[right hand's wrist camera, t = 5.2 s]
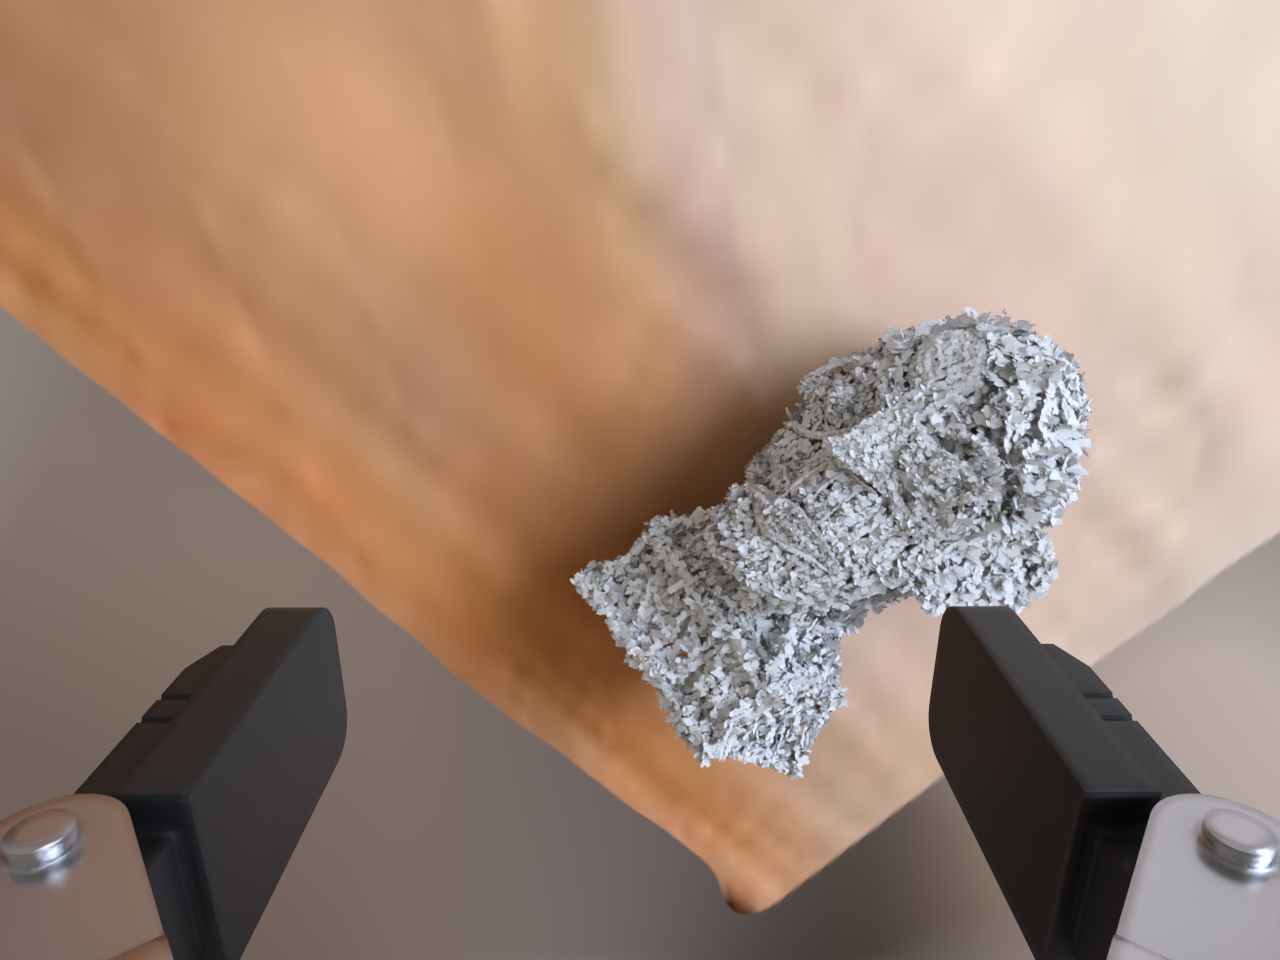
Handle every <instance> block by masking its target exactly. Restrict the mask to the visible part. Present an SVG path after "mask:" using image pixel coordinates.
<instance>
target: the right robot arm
mask: <svg viewBox="0 0 1280 960" xmlns="http://www.w3.org/2000/svg"><path fill="white" fill-rule="evenodd" d="M346 728H347V709H346V701H345V694H344V687H343V680H342V673H341V666H340V659H339V652H338V645H337V638H336V631H335V625H334V620H333V617H332V615H331V613H330V611H329V610H328V609H327V608H266V609H264V610H263V611H262V612H261V613H260V614H259V615H258V617H257V618H256V619H255V620H254V621H253V623H252V624H251V625H250V626H249V627H248V629H247V630H246V631H245V632H244V634H243V635H242V636H241V637H240V638H239V639H238V641H237V642H236V643H235V644H234V646H220V647H218V648H217V649H215V650H214V651H212V652H210V653H209V654H207V655H206V656H204V657H202V658H201V659H199V660H198V661H196V662H195V663H193V664H191V665H190V666H188V667H186V668H185V669H184V670H183V671H182V672H181V674H180V675H179V676H178V677H177V678H176V679H175V680H174V681H173V683H172V684H171V685H170V686H169V687H168V688H167V689H166V690H165V692H164V693H163V694H162V698H161V700H157V701H156V702H155V703H154V704H153V705H152V706H151V707H150V709H149V710H148V711H147V712H146V713H145V714H144V715H143V716H142V722H141V723H136V724H135V726H134V727H133V728H132V729H131V730H130V731H129V732H128V733H127V735H126V736H125V737H124V738H123V739H122V740H121V741H120V742H119V744H118V745H117V746H116V747H115V748H114V749H113V750H112V751H111V753H110V754H109V755H108V756H107V757H106V758H105V759H104V760H103V762H102V763H101V764H100V765H99V766H98V767H97V768H96V769H95V771H94V772H93V773H92V774H91V775H90V776H89V777H88V779H87V780H86V781H85V782H84V783H83V784H82V785H81V786H80V788H79V789H78V790H77V791H76V792H75V793H74V794H73V795H68V796H63V797H58V798H54V799H50V800H47V801H44V802H41V803H38V804H35V805H32V806H30V807H28V808H25V809H23V810H21V811H19V812H16V813H14V814H12V815H10V816H8V817H7V818H5V819H3V820H2V821H0V960H240V958H241V956H242V954H243V952H244V950H245V948H246V946H247V944H248V942H249V940H250V938H251V936H252V934H253V932H254V930H255V928H256V926H257V924H258V922H259V920H260V918H261V916H262V914H263V912H264V910H265V908H266V906H267V904H268V902H269V900H270V898H271V896H272V894H273V892H274V890H275V888H276V886H277V884H278V882H279V880H280V878H281V876H282V874H283V871H284V870H285V867H286V865H287V863H288V861H289V859H290V857H291V855H292V853H293V851H294V849H295V847H296V845H297V843H298V841H299V839H300V837H301V835H302V833H303V831H304V829H305V827H306V825H307V823H308V821H309V819H310V817H311V815H312V813H313V811H314V809H315V807H316V805H317V803H318V801H319V799H320V797H321V795H322V793H323V791H324V789H325V787H326V785H327V783H328V781H329V779H330V777H331V775H332V773H333V771H334V769H335V767H336V765H337V763H338V761H339V759H340V756H341V753H342V750H343V747H344V742H345V737H346ZM929 731H930V738H931V743H932V747H933V750H934V753H935V756H936V758H937V760H938V762H939V764H940V766H941V768H942V770H943V772H944V775H945V777H946V779H947V781H948V783H949V785H950V787H951V789H952V791H953V793H954V795H955V797H956V799H957V801H958V803H959V805H960V807H961V809H962V811H963V813H964V815H965V817H966V819H967V821H968V823H969V825H970V827H971V829H972V831H973V833H974V836H975V838H976V840H977V842H978V844H979V846H980V848H981V850H982V852H983V854H984V856H985V858H986V860H987V862H988V864H989V866H990V868H991V870H992V872H993V874H994V876H995V878H996V880H997V882H998V884H999V886H1000V889H1001V891H1002V893H1003V895H1004V897H1005V899H1006V901H1007V903H1008V905H1009V907H1010V909H1011V911H1012V913H1013V915H1014V917H1015V919H1016V921H1017V923H1018V925H1019V927H1020V929H1021V931H1022V933H1023V935H1024V937H1025V939H1026V941H1027V943H1028V945H1029V947H1030V950H1031V952H1032V954H1033V956H1034V958H1035V960H1280V821H1278V820H1277V819H1275V818H1273V817H1272V816H1270V815H1268V814H1266V813H1264V812H1261V811H1259V810H1257V809H1255V808H1252V807H1250V806H1247V805H1245V804H1242V803H1239V802H1236V801H1233V800H1230V799H1226V798H1222V797H1217V796H1212V795H1205V794H1201V793H1200V792H1199V791H1198V790H1197V789H1196V788H1195V786H1194V785H1193V784H1192V783H1191V782H1190V781H1189V780H1188V778H1187V777H1186V776H1185V775H1184V774H1183V773H1182V772H1181V771H1180V769H1179V768H1178V767H1177V766H1176V765H1175V764H1174V763H1173V761H1172V760H1171V759H1170V758H1169V757H1168V756H1167V755H1166V753H1165V752H1164V751H1163V750H1162V749H1161V748H1160V747H1159V745H1158V744H1157V743H1156V742H1155V741H1154V740H1153V739H1152V737H1151V736H1150V735H1149V734H1148V733H1147V732H1146V731H1145V729H1144V728H1143V727H1142V726H1141V725H1140V724H1139V723H1138V722H1137V721H1133V720H1132V715H1131V714H1130V712H1129V711H1128V710H1127V709H1126V708H1125V707H1124V706H1123V704H1122V703H1121V702H1120V701H1119V700H1118V699H1117V698H1113V696H1112V692H1111V691H1110V690H1109V689H1108V687H1107V686H1106V685H1105V684H1104V683H1103V682H1102V681H1101V679H1100V678H1099V677H1098V676H1097V675H1096V674H1095V673H1094V671H1093V670H1092V669H1091V668H1090V667H1089V666H1088V665H1086V664H1084V663H1083V662H1081V661H1080V660H1078V659H1076V658H1075V657H1073V656H1072V655H1070V654H1068V653H1067V652H1065V651H1064V650H1062V649H1060V648H1059V647H1057V646H1056V645H1054V644H1041V643H1040V642H1039V641H1038V640H1037V638H1036V637H1035V636H1034V635H1033V634H1032V632H1031V631H1030V630H1029V629H1028V627H1027V626H1026V625H1025V624H1024V623H1023V621H1022V620H1021V619H1020V618H1019V617H1018V615H1017V614H1016V613H1015V612H1014V611H1013V610H1012V609H1011V608H1010V607H1007V606H950V607H948V608H947V609H946V610H945V612H944V614H943V617H942V620H941V625H940V632H939V640H938V647H937V654H936V661H935V668H934V675H933V682H932V689H931V697H930V704H929Z"/></svg>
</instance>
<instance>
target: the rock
mask: <svg viewBox="0 0 1280 960" xmlns="http://www.w3.org/2000/svg"><path fill="white" fill-rule="evenodd" d="M965 307H966V306H965ZM965 311H966V313H965V314H961V315H960V316H958V317H955V318H956V320H954V319H950V318H951V317H950V316H949V315H947V316H946V317H945V318H946V319H947V321H945V322H944V320H943V319H942V320H940V318H939V320H938V321H939V323H938V322H937V320H933V319H932V320H929V321H928V320H926V321H923V322H922V323H921V325H919V324H918V325H916V326H915V327H914V326H912V327H910V328H909V329H907V328H906V330H905V329H904V328H902V329H901V327H900V329H899V328H898V329H899V330H895V329H894V328H892V327H891V326H890V328H889V327H888V328H887V329H886V331H884V334H883V335H884V336H883V337H882V338H879V339H878V340H880V342H878V343H879V344H878V345H879V346H878V345H877V346H875V347H876V348H874V347H873V348H872V347H871V348H868V351H867V350H866V351H867V352H868V353H869V355H868V354H866V353H867V352H866V353H865V352H862V350H859V353H858V352H856V353H855V352H854V353H853V352H852V353H851V355H847V356H845V357H841V358H838V359H837V357H831V358H830V360H829V361H828V363H829V364H827V365H823V366H822V367H820V368H819V367H818V368H819V369H818V370H817V369H816V371H815V372H812V371H811V372H810V374H807V375H804V381H805V382H804V381H803V380H802V381H800V382H799V383H802V384H801V386H800V385H798V386H797V387H795V388H798V389H796V390H797V391H798V392H799V394H798V395H800V394H803V393H804V398H803V401H802V402H801V403H800V404H798V403H796V404H795V405H797V407H796V409H795V411H794V413H793V415H792V414H791V412H790V411H789V410H788V407H786V408H785V409H786V414H787V415H788V419H790V420H789V421H787V420H786V422H784V423H783V424H784V425H785V427H783V428H782V429H780V430H778V431H777V433H778V434H777V433H776V434H774V435H773V437H772V440H771V442H770V443H769V444H770V445H768V444H767V445H768V446H767V445H765V447H764V448H763V449H762V451H763V452H762V451H761V452H762V453H761V452H759V454H758V452H757V451H756V452H757V453H756V454H755V456H758V457H753V460H751V462H750V463H747V464H746V465H744V467H746V469H745V468H744V469H745V470H746V471H744V472H746V473H743V474H746V475H745V478H747V482H746V481H745V482H746V483H745V484H743V485H741V487H739V485H738V483H735V484H734V485H732V488H731V487H729V490H730V492H729V493H730V494H729V497H728V498H727V497H726V499H723V500H726V501H728V502H726V503H725V504H726V505H725V504H724V505H723V502H722V504H721V506H720V505H719V504H717V505H718V507H717V506H715V507H713V506H711V507H712V510H711V509H710V508H708V509H707V510H706V511H705V510H703V509H702V508H701V507H702V506H701V507H700V506H699V507H697V508H696V510H694V511H693V513H692V515H691V516H690V517H688V515H689V514H688V515H687V514H683V515H681V517H679V516H678V515H677V516H678V517H677V516H676V515H675V513H673V509H672V510H670V514H671V515H670V517H667V516H666V515H665V516H664V517H662V518H661V516H659V515H657V516H654V517H655V518H653V519H652V518H651V519H652V520H651V521H650V524H649V523H647V522H643V523H644V524H643V525H649V526H648V527H647V529H643V531H642V533H643V534H641V535H642V537H641V538H640V537H638V538H637V542H636V541H635V542H634V545H635V546H634V545H633V546H632V548H631V549H630V552H629V553H627V554H626V555H625V556H621V555H618V556H617V558H615V559H614V561H612V562H613V563H612V562H609V560H608V561H607V560H605V562H604V563H601V561H600V562H598V563H596V561H593V560H592V562H589V563H588V565H587V566H586V568H589V567H591V568H589V569H585V570H583V569H582V568H581V569H580V570H581V572H580V573H578V572H577V571H576V572H577V573H576V574H575V575H574V576H576V577H574V578H575V580H574V579H569V580H571V583H573V585H575V586H576V590H577V591H576V592H578V594H580V595H581V596H583V597H582V599H583V598H585V600H586V602H587V603H586V604H589V605H590V606H592V607H593V608H592V610H593V611H594V610H596V611H597V613H598V614H599V615H600V616H601V615H602V614H604V616H605V615H607V619H605V621H604V622H605V623H606V624H607V626H608V627H609V630H610V632H611V631H613V634H614V635H613V634H611V635H612V638H613V639H614V640H616V639H617V640H616V641H615V642H616V644H615V645H616V646H618V647H623V648H624V649H625V650H626V653H627V654H625V657H626V659H624V660H623V661H624V663H627V662H628V663H629V666H630V667H631V668H632V667H633V669H638V668H640V669H639V671H640V670H643V671H642V672H643V674H644V675H643V676H641V677H642V680H643V681H644V680H646V681H649V682H650V683H651V684H652V686H655V687H656V688H657V690H658V689H660V690H659V692H656V695H658V696H659V702H658V703H659V705H660V707H659V708H660V709H661V708H664V709H665V711H666V712H669V713H666V715H667V717H668V719H667V718H666V722H667V723H671V727H673V729H676V730H675V734H677V736H675V739H676V738H680V736H681V739H683V740H685V744H686V743H687V742H688V743H687V744H688V745H687V746H686V747H687V749H688V747H689V749H690V750H692V752H693V751H694V750H695V749H697V751H698V752H697V751H696V752H697V753H696V756H695V755H694V757H695V758H696V761H695V762H697V760H699V761H701V762H702V765H701V766H700V767H701V768H703V767H704V765H705V766H707V767H708V766H710V762H709V761H710V759H711V758H715V757H716V758H717V759H719V758H720V757H721V758H722V757H723V758H724V760H725V758H727V757H728V756H729V755H730V757H731V756H732V757H731V758H732V760H734V759H738V760H739V761H740V762H741V761H743V762H744V763H745V764H746V762H752V760H753V764H754V763H755V765H756V766H757V767H758V765H761V766H760V767H763V768H764V767H766V766H767V767H768V766H769V767H770V768H772V769H773V770H775V771H778V770H779V772H780V773H781V772H783V773H784V775H785V773H786V775H788V777H790V778H793V777H794V776H795V778H794V780H795V779H796V778H798V777H799V779H800V776H801V777H804V776H803V775H802V771H801V770H802V768H801V767H803V765H804V764H809V763H810V762H809V761H808V756H809V755H808V756H807V754H808V753H809V752H810V753H811V751H812V749H811V746H812V743H813V745H815V743H814V740H815V738H816V737H817V735H818V733H819V731H821V730H822V729H821V728H820V727H821V725H823V724H824V725H826V726H827V724H826V723H827V722H828V719H829V720H830V718H829V716H830V715H831V714H830V713H829V712H832V711H834V710H837V709H836V708H838V706H839V707H842V706H845V707H848V706H849V705H848V704H847V703H848V702H847V699H845V698H844V697H842V696H843V695H844V694H843V693H842V692H843V691H844V692H846V691H847V688H843V689H842V688H841V687H840V683H838V680H839V678H841V677H839V674H840V672H841V671H842V668H843V666H842V663H839V662H838V659H839V657H840V656H841V652H840V655H839V654H838V657H836V655H835V650H837V651H839V650H840V651H841V649H842V648H841V646H840V644H839V641H840V639H841V636H842V635H846V634H847V635H850V634H851V633H852V632H853V633H852V634H854V633H855V634H859V632H858V629H860V627H862V625H863V624H864V620H862V619H863V618H864V619H865V617H866V618H867V614H866V613H867V612H868V611H867V610H869V609H871V608H873V607H874V608H873V609H874V610H873V611H875V612H876V613H877V614H880V612H881V611H883V608H886V607H887V606H885V605H886V602H887V603H890V605H891V606H892V604H893V603H894V604H895V602H894V601H895V600H896V601H898V603H899V602H900V601H901V600H903V599H908V597H909V596H914V595H915V596H916V601H918V603H920V604H919V605H921V606H920V608H921V609H922V610H924V613H926V614H927V615H928V614H931V615H933V616H934V617H935V616H938V615H940V612H941V611H943V612H944V610H945V609H946V608H948V607H950V606H1007V607H1010V608H1011V609H1012V610H1013V611H1014V610H1015V609H1016V610H1015V612H1017V615H1018V614H1019V613H1020V612H1022V607H1024V608H1025V606H1028V607H1029V603H1030V602H1028V599H1027V598H1030V599H1031V598H1032V599H1033V600H1034V599H1037V600H1039V601H1040V600H1043V597H1044V596H1046V592H1044V591H1046V590H1049V586H1050V585H1049V584H1051V581H1052V580H1054V579H1056V578H1058V575H1056V574H1057V572H1058V571H1057V569H1058V568H1059V566H1058V565H1059V564H1058V563H1059V562H1058V561H1057V562H1056V561H1055V560H1054V561H1051V560H1053V559H1054V558H1055V553H1054V552H1053V550H1054V547H1052V546H1053V545H1052V546H1050V545H1051V544H1052V541H1050V543H1049V545H1047V544H1048V542H1047V541H1048V540H1049V539H1050V538H1049V537H1050V535H1051V533H1050V534H1049V531H1048V532H1042V531H1039V529H1040V528H1041V529H1042V528H1043V526H1044V528H1045V526H1050V527H1051V528H1053V527H1052V526H1053V524H1054V525H1057V526H1058V524H1061V522H1063V521H1062V520H1060V519H1061V518H1059V517H1061V515H1063V514H1064V511H1065V510H1064V511H1063V510H1062V509H1066V507H1067V506H1066V504H1067V505H1068V502H1069V503H1070V502H1071V501H1072V502H1074V501H1076V500H1077V499H1078V498H1077V497H1078V496H1077V495H1076V493H1075V494H1074V491H1076V490H1080V489H1081V487H1079V486H1080V485H1079V483H1080V479H1078V478H1079V477H1078V476H1079V475H1081V476H1082V475H1085V474H1086V475H1088V473H1092V472H1090V471H1089V472H1087V471H1086V469H1083V468H1081V464H1079V463H1078V462H1077V459H1076V457H1077V458H1079V457H1080V456H1081V455H1082V452H1083V453H1084V454H1086V455H1087V456H1088V457H1089V455H1088V452H1085V447H1086V446H1087V447H1089V448H1090V447H1092V444H1091V443H1090V442H1091V439H1090V438H1086V437H1084V436H1085V435H1086V434H1087V432H1088V431H1090V430H1092V429H1093V428H1092V429H1087V428H1085V427H1086V426H1087V425H1086V424H1087V422H1088V420H1089V419H1088V418H1087V417H1088V416H1086V415H1088V414H1089V411H1090V413H1091V412H1092V411H1091V409H1090V408H1091V407H1089V403H1088V402H1087V401H1089V400H1087V401H1085V400H1086V399H1085V397H1086V398H1087V395H1086V394H1085V393H1084V390H1083V388H1085V386H1086V384H1084V385H1081V383H1083V382H1084V381H1083V380H1082V378H1083V376H1084V374H1085V372H1084V371H1083V374H1082V376H1081V374H1079V373H1078V374H1076V373H1077V369H1076V368H1080V366H1077V365H1078V363H1077V362H1075V361H1074V362H1071V361H1072V358H1073V357H1074V354H1071V355H1069V354H1070V353H1068V352H1067V353H1066V352H1065V351H1062V352H1061V353H1060V352H1059V351H1060V350H1061V349H1060V350H1059V348H1060V347H1059V348H1058V347H1057V346H1058V345H1057V344H1055V343H1054V342H1051V341H1052V338H1050V336H1049V335H1047V336H1046V337H1044V338H1043V339H1041V337H1039V338H1037V339H1036V336H1034V335H1036V334H1037V333H1036V332H1037V331H1034V332H1033V331H1031V332H1033V333H1031V334H1030V332H1028V331H1029V330H1030V329H1031V328H1032V327H1033V326H1034V325H1035V324H1030V325H1029V322H1030V321H1029V322H1028V321H1027V320H1026V322H1025V321H1022V320H1017V322H1015V323H1012V324H1013V325H1015V326H1016V325H1017V326H1018V327H1013V325H1011V323H1010V322H1009V320H1010V317H1007V318H1006V317H1003V318H1002V316H999V315H998V316H996V315H993V316H991V317H990V316H989V315H990V313H991V311H990V312H989V313H987V314H986V313H984V315H983V313H982V314H977V312H976V310H973V309H972V308H969V306H968V308H967V307H966V309H965ZM965 311H964V312H965ZM1004 311H1005V309H1004V310H1003V311H1002V313H1003V312H1004ZM960 313H961V312H960ZM962 313H963V312H962ZM1000 314H1001V313H1000ZM1004 314H1005V315H1006V314H1007V313H1006V312H1005V313H1004ZM957 315H958V314H957ZM1008 316H1009V315H1008ZM997 317H998V318H999V317H1000V318H999V320H998V322H995V321H993V320H995V319H996V318H997ZM1011 318H1012V316H1011ZM996 320H997V319H996ZM1003 320H1004V321H1003ZM940 321H941V322H940ZM916 323H917V322H916ZM1027 323H1028V324H1027ZM1037 325H1038V324H1037ZM926 326H927V327H926ZM913 327H914V329H913ZM1010 327H1013V328H1010ZM1034 327H1035V326H1034ZM911 328H912V329H911ZM1041 331H1042V330H1041ZM1033 334H1034V335H1033ZM875 344H876V343H875ZM1058 344H1059V343H1058ZM1056 345H1057V346H1056ZM1055 346H1056V347H1055ZM1060 346H1061V345H1060ZM860 348H861V347H860ZM879 348H880V349H879ZM858 349H859V348H858ZM1067 351H1068V350H1067ZM833 366H834V367H835V369H836V370H840V369H841V370H842V371H840V373H837V374H834V373H833V372H832V373H829V370H830V369H831V368H834V367H833ZM840 366H841V367H840ZM1074 367H1075V369H1074ZM832 370H833V369H832ZM844 371H845V372H847V373H845V372H844ZM827 372H828V373H827ZM825 373H826V374H827V375H828V377H827V375H826V377H824V376H820V375H822V374H824V375H825ZM833 374H834V375H833ZM818 376H819V378H818ZM1086 379H1087V378H1086ZM815 380H816V381H815ZM1081 380H1082V381H1083V382H1082V381H1081ZM1084 380H1085V379H1084ZM802 396H803V395H802ZM1092 399H1093V398H1092ZM1092 399H1091V400H1092ZM1091 400H1090V401H1091ZM1090 401H1089V402H1090ZM804 404H805V405H804ZM803 406H804V408H805V409H802V408H801V407H803ZM799 407H800V410H799V411H796V410H797V409H798V408H799ZM1091 414H1092V413H1091ZM795 415H796V417H794V416H795ZM1090 418H1091V417H1090ZM1087 419H1088V420H1087ZM1086 420H1087V422H1086ZM1084 422H1085V425H1084ZM785 428H787V429H785ZM1084 428H1085V429H1084ZM769 440H770V439H769ZM772 441H773V442H772ZM765 448H766V450H765ZM752 456H753V455H752ZM1078 456H1079V457H1078ZM749 461H750V460H749ZM732 484H733V483H732ZM743 490H744V491H743ZM727 493H728V492H727ZM727 496H728V495H727ZM1066 501H1067V502H1066ZM1060 508H1061V509H1060ZM704 511H705V512H704ZM704 515H706V516H704ZM1064 517H1065V516H1064ZM706 519H707V520H708V522H704V523H702V524H701V522H702V521H705V520H706ZM709 519H710V520H709ZM1061 525H1062V524H1061ZM1042 533H1045V534H1042ZM638 534H640V532H639V533H638ZM1052 536H1053V535H1052ZM1047 538H1049V539H1047ZM1046 543H1047V544H1046ZM633 555H634V556H633ZM619 559H620V560H619ZM1057 560H1058V559H1057ZM589 561H590V560H589ZM603 561H604V560H603ZM603 561H602V562H603ZM596 564H598V565H596ZM1050 564H1051V565H1050ZM599 565H600V566H599ZM598 567H599V568H598ZM985 570H989V571H985ZM982 575H983V576H982ZM997 575H998V576H997ZM981 576H982V577H981ZM980 577H981V578H980ZM983 578H984V579H983ZM617 601H618V602H617ZM615 602H617V606H616V607H614V604H615ZM637 603H638V604H637ZM615 605H616V604H615ZM943 612H941V613H943ZM597 613H596V614H597ZM876 613H875V614H876ZM637 618H638V619H637ZM649 621H650V622H651V623H650V622H649ZM630 622H632V623H630ZM648 622H649V623H650V624H649V625H648ZM652 623H653V625H652ZM647 633H648V634H647ZM837 635H839V637H840V638H839V637H838V636H837ZM833 640H834V641H833ZM837 640H838V641H837ZM669 642H670V643H671V642H672V647H673V648H672V649H671V646H667V648H666V649H665V648H664V647H663V645H666V644H667V645H668V643H669ZM619 643H620V644H619ZM673 643H674V645H673ZM624 644H625V645H624ZM662 647H663V648H662ZM660 648H661V649H660ZM663 649H664V650H663ZM680 651H681V652H680ZM679 652H680V653H682V652H683V653H684V652H687V654H688V658H687V656H686V657H684V656H679V657H680V658H678V656H676V655H677V654H679ZM683 653H682V654H683ZM631 654H632V655H633V660H632V656H631ZM834 655H835V656H834ZM625 657H624V658H625ZM697 657H698V658H697ZM699 657H700V658H699ZM836 658H837V659H836ZM840 658H841V657H840ZM702 663H704V664H703V665H701V664H702ZM705 663H706V664H705ZM700 665H701V667H698V666H700ZM629 666H628V667H629ZM841 667H842V668H841ZM700 670H704V671H703V672H701V671H700ZM639 671H638V672H639ZM692 671H693V672H692ZM690 672H692V673H693V676H691V673H690ZM836 675H838V677H837V676H836ZM688 676H689V677H688ZM694 676H695V677H694ZM833 676H836V677H833ZM641 677H640V678H641ZM837 678H838V679H837ZM693 680H695V683H694V684H693V685H689V684H690V683H691V682H692V681H693ZM649 682H647V683H648V684H650V683H649ZM680 682H681V683H680ZM693 682H694V681H693ZM678 683H679V684H678ZM648 684H647V685H648ZM685 684H686V685H685ZM691 684H692V683H691ZM681 685H682V686H681ZM684 686H685V687H684ZM836 687H837V689H836ZM694 692H695V693H694ZM659 705H658V706H659ZM830 710H832V711H830ZM663 711H664V710H663ZM729 711H730V712H729ZM798 712H799V713H798ZM828 713H829V714H828ZM811 719H812V721H813V722H811V723H810V720H811ZM802 727H803V728H804V727H805V728H804V730H803V731H804V733H803V735H802V736H801V735H799V736H798V738H797V734H798V732H799V731H800V729H802ZM813 727H814V728H813ZM818 729H819V730H818ZM676 732H677V733H676ZM800 732H801V731H800ZM797 741H799V742H798V744H797ZM794 743H796V744H795V746H794ZM792 745H793V746H794V747H793V749H792ZM791 749H792V751H791ZM688 752H689V751H688ZM727 755H728V756H727ZM726 756H727V757H726ZM694 757H693V758H694ZM721 758H720V759H721ZM723 758H722V759H723ZM719 761H720V760H719ZM757 763H758V765H757ZM775 771H774V772H775ZM779 775H780V774H779Z"/></svg>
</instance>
